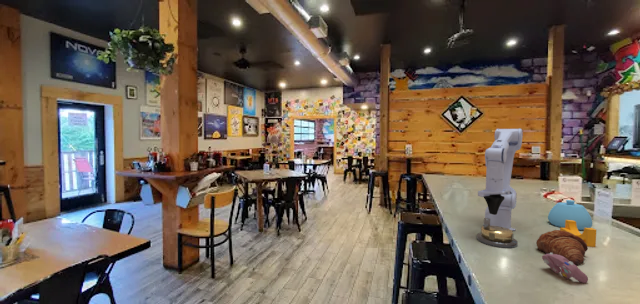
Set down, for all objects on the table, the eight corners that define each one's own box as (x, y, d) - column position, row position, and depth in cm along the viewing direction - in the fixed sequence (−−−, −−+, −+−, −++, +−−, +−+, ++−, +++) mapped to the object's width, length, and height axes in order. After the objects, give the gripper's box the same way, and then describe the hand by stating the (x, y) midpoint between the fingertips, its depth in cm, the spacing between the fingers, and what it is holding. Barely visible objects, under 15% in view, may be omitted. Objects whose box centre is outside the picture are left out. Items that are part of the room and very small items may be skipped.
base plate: (468, 236, 112) (468, 233, 112) (495, 234, 116) (495, 230, 115) (497, 249, 100) (497, 245, 99) (526, 246, 103) (526, 242, 103)
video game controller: (545, 272, 86) (536, 252, 86) (557, 265, 87) (549, 245, 86) (577, 290, 76) (567, 267, 76) (591, 282, 77) (582, 259, 76)
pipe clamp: (559, 235, 116) (560, 219, 115) (571, 236, 115) (572, 220, 115) (581, 246, 104) (582, 229, 104) (595, 247, 103) (596, 229, 103)
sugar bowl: (587, 224, 131) (588, 199, 130) (596, 233, 118) (598, 206, 117) (545, 219, 139) (546, 195, 138) (549, 227, 126) (551, 201, 125)
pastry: (518, 247, 103) (520, 225, 102) (544, 241, 109) (546, 220, 108) (576, 267, 87) (577, 241, 87) (602, 259, 93) (604, 235, 93)
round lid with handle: (503, 233, 112) (504, 215, 112) (518, 242, 102) (519, 223, 102) (476, 232, 113) (477, 214, 112) (489, 241, 103) (490, 222, 103)
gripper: (490, 181, 104) (488, 218, 105) (518, 179, 109) (516, 215, 110) (473, 178, 111) (472, 213, 111) (500, 177, 116) (499, 210, 116)
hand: (493, 214), depth 111 cm, fingers closed
